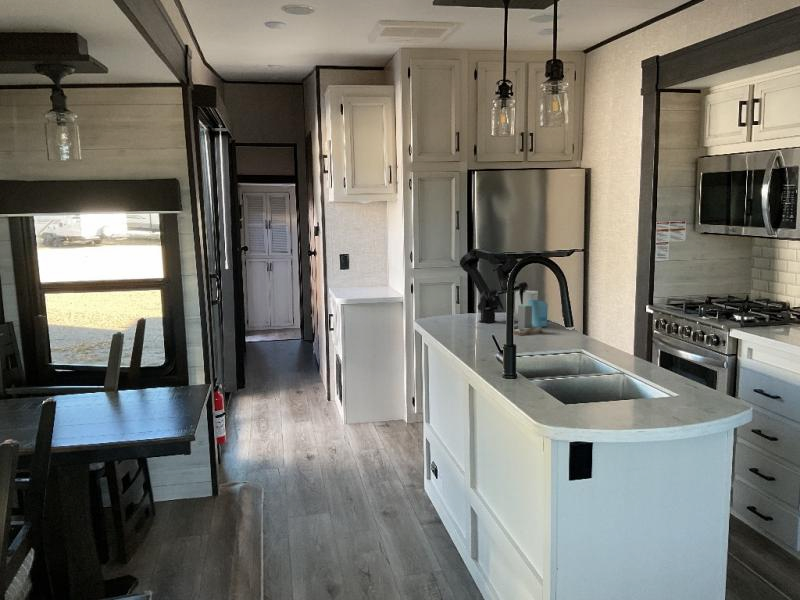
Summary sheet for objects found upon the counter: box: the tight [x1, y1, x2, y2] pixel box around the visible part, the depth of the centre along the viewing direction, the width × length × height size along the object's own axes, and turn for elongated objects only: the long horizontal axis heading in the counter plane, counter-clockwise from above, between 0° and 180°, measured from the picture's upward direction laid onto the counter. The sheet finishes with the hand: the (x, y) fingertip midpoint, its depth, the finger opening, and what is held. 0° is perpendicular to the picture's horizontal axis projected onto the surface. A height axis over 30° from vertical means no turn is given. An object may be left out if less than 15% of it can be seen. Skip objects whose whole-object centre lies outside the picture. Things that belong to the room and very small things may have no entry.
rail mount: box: [513, 324, 544, 336], centre depth 307 cm, size 13×10×3 cm
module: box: [517, 304, 533, 329], centre depth 306 cm, size 4×5×11 cm
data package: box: [528, 299, 548, 328], centre depth 324 cm, size 12×4×12 cm, turn 15°
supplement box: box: [514, 289, 539, 322], centre depth 337 cm, size 9×9×15 cm
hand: (512, 307), depth 315 cm, fingers open, 9 cm apart
